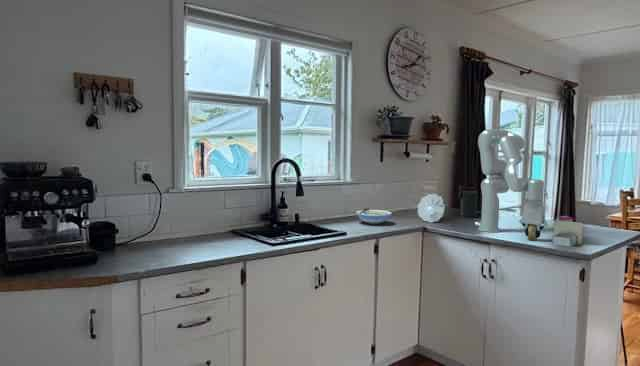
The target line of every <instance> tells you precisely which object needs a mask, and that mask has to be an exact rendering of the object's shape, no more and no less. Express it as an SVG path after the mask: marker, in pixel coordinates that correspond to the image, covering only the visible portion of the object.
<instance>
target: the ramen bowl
mask: <svg viewBox="0 0 640 366" xmlns="http://www.w3.org/2000/svg"><path fill="white" fill-rule="evenodd" d="M356 214H357V216H358V218H359V219H360V220H361V221H363V222H365V223H367V224H368V225H380V224H381V223H385V222H387V220H388V219H390V217H391V215H392V212H391V211H389V210H383V209H382V210H381V209H370V207H368V208H367V207H365V208H364V209H362V210H357V211H356Z"/></svg>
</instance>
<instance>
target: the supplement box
mask: <svg viewBox="0 0 640 366" xmlns="http://www.w3.org/2000/svg"><path fill="white" fill-rule="evenodd" d="M556 220H561V221H570V222H574V217H571V216H567V215H563V216H562V215H560V216H558V215H557V216H556Z"/></svg>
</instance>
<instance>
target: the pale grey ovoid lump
mask: <svg viewBox="0 0 640 366" xmlns="http://www.w3.org/2000/svg"><path fill="white" fill-rule="evenodd" d="M443 202H444V200H443V197H442V195H438V194H437V193H432V194H430V193H428V194H427V195H425V196H423V197H421V199H420V201H419V203H417V204H418V205H417V214H418V218H421V219H422V220H423V221H424V222H429V223H434V222H438V221H440V219H441V218H442V217H444V213H445V209H446V208H445V206H446V205H445V204H444V203H443Z"/></svg>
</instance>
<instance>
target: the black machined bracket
mask: <svg viewBox="0 0 640 366" xmlns="http://www.w3.org/2000/svg"><path fill="white" fill-rule="evenodd" d="M475 189H476V188H475V187H469V186H468V187H467V186H466V187H465V186H463V185H458V197H457V199H459V200H460V203H459V204H460V205H459V207H460V208H459V209H460V210H459V214H460V215H461V217H462V218H466V219H467V218H468V219H469V218H470V219H471V218H472V219H473V218H475V219H476V218H477V217H478V216H477V215H478V191H476V190H475Z"/></svg>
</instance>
